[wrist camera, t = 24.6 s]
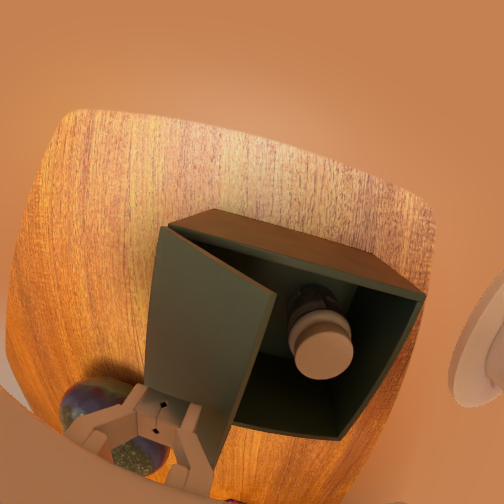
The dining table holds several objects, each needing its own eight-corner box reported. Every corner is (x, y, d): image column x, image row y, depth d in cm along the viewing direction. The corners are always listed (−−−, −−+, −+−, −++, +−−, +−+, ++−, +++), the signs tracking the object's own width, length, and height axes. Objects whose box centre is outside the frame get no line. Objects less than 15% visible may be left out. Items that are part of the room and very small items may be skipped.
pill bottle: (343, 316, 24) (366, 368, 16) (298, 335, 25) (303, 392, 17) (326, 274, 24) (348, 315, 15) (278, 294, 24) (277, 344, 16)
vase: (152, 357, 28) (97, 436, 15) (198, 439, 31) (174, 511, 18) (71, 359, 30) (17, 410, 17) (118, 431, 33) (85, 485, 20)
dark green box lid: (148, 402, 16) (143, 404, 16) (167, 226, 13) (160, 226, 13) (210, 479, 11) (205, 481, 11) (277, 293, 8) (269, 295, 8)
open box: (187, 332, 27) (148, 398, 17) (213, 208, 24) (167, 223, 14) (324, 367, 26) (340, 441, 16) (372, 253, 23) (426, 295, 13)
